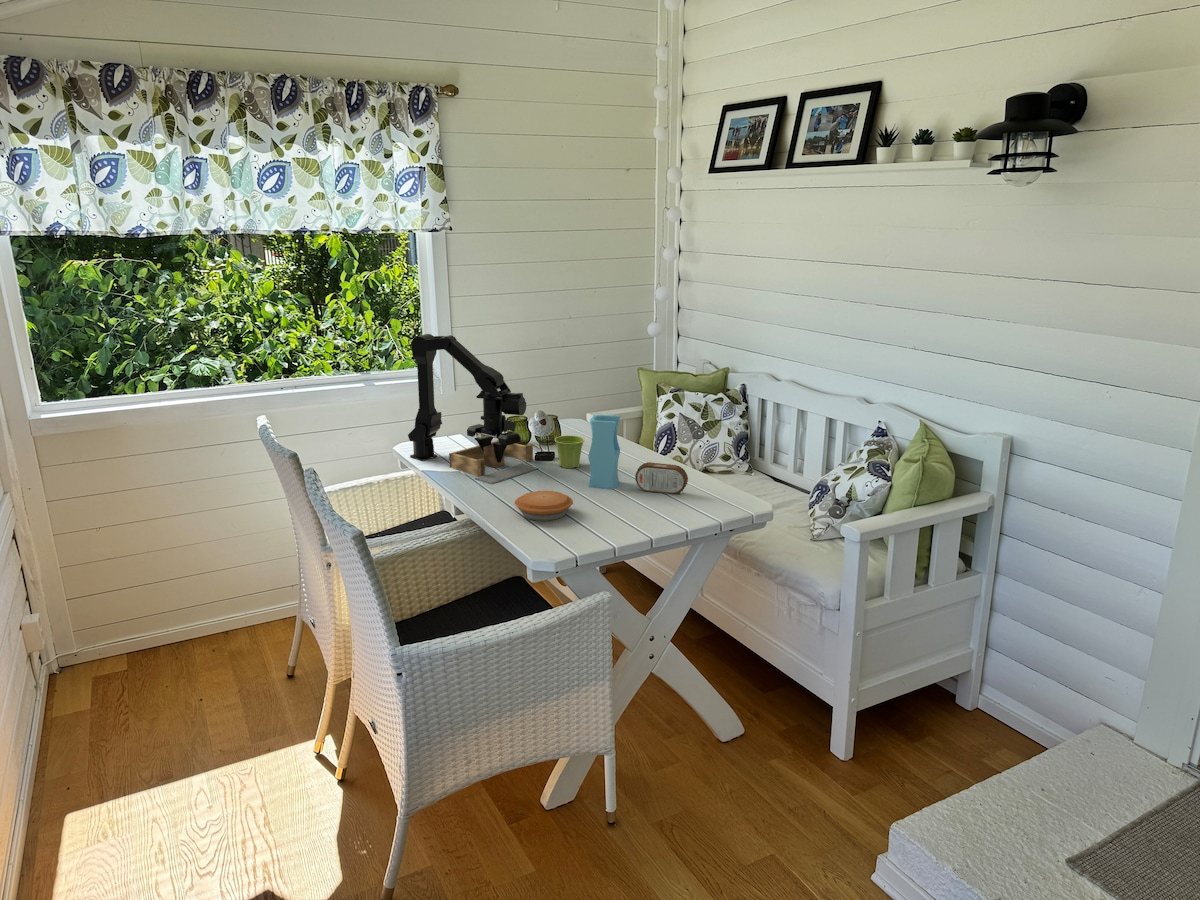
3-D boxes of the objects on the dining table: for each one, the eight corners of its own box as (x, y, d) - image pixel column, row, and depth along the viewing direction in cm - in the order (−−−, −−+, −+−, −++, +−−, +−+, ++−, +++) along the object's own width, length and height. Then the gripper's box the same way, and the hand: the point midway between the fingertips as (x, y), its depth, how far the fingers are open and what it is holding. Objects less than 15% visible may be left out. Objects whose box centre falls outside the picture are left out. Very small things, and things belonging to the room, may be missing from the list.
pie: (542, 500, 245) (542, 483, 244) (584, 513, 236) (584, 495, 234) (502, 515, 234) (502, 497, 232) (545, 528, 224) (545, 510, 223)
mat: (474, 479, 263) (474, 477, 263) (522, 464, 277) (522, 463, 277) (491, 484, 258) (491, 482, 258) (538, 469, 273) (538, 467, 273)
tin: (687, 493, 252) (688, 465, 250) (685, 496, 249) (686, 468, 247) (636, 488, 256) (637, 460, 253) (634, 491, 253) (634, 463, 250)
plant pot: (586, 462, 281) (586, 435, 278) (582, 470, 272) (582, 443, 269) (557, 461, 282) (556, 434, 279) (552, 469, 273) (552, 442, 270)
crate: (448, 467, 274) (448, 451, 272) (501, 452, 290) (501, 437, 289) (480, 476, 265) (480, 460, 263) (532, 460, 282) (532, 445, 280)
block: (484, 465, 277) (483, 446, 275) (494, 462, 280) (493, 443, 278) (493, 467, 274) (493, 449, 272) (504, 464, 277) (503, 446, 276)
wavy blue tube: (614, 489, 255) (615, 422, 249) (588, 487, 256) (588, 420, 251) (619, 480, 262) (620, 415, 257) (593, 479, 264) (594, 414, 258)
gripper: (532, 412, 272) (533, 460, 277) (491, 403, 284) (492, 450, 288) (506, 419, 264) (507, 468, 269) (465, 409, 276) (466, 457, 280)
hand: (494, 460), depth 277 cm, fingers closed on block, 4 cm apart
